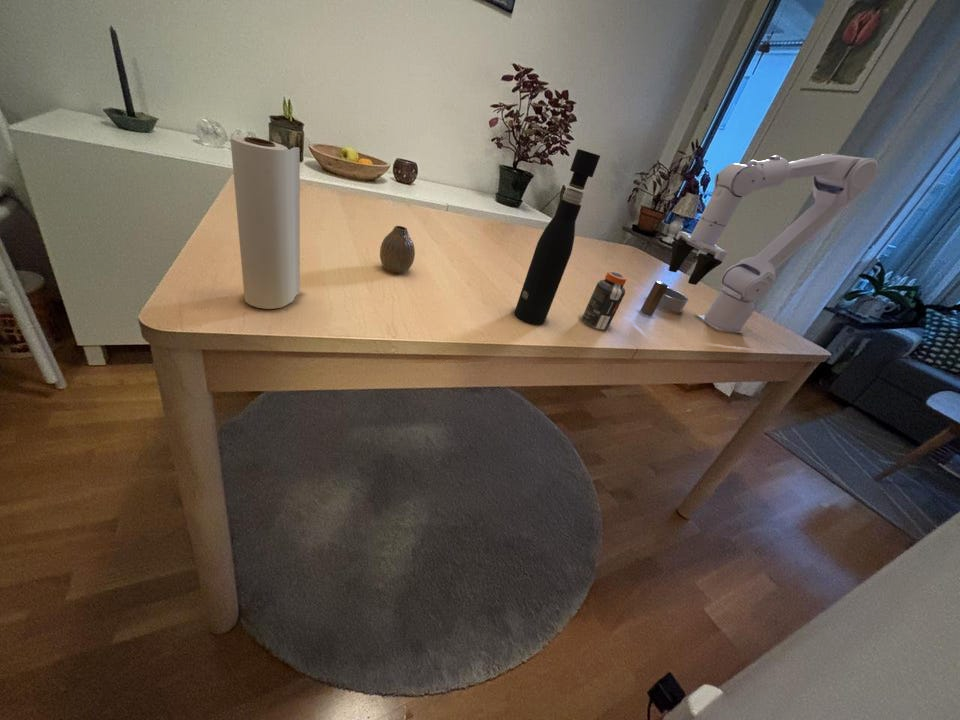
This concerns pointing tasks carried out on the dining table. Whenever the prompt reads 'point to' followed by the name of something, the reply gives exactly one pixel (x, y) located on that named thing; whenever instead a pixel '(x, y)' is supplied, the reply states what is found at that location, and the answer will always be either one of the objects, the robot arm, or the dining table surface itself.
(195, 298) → the dining table surface
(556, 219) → the black water bottle
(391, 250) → the vase
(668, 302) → the tin
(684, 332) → the dining table surface
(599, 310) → the pill bottle
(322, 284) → the dining table surface
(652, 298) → the stick
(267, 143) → the paper towel roll
